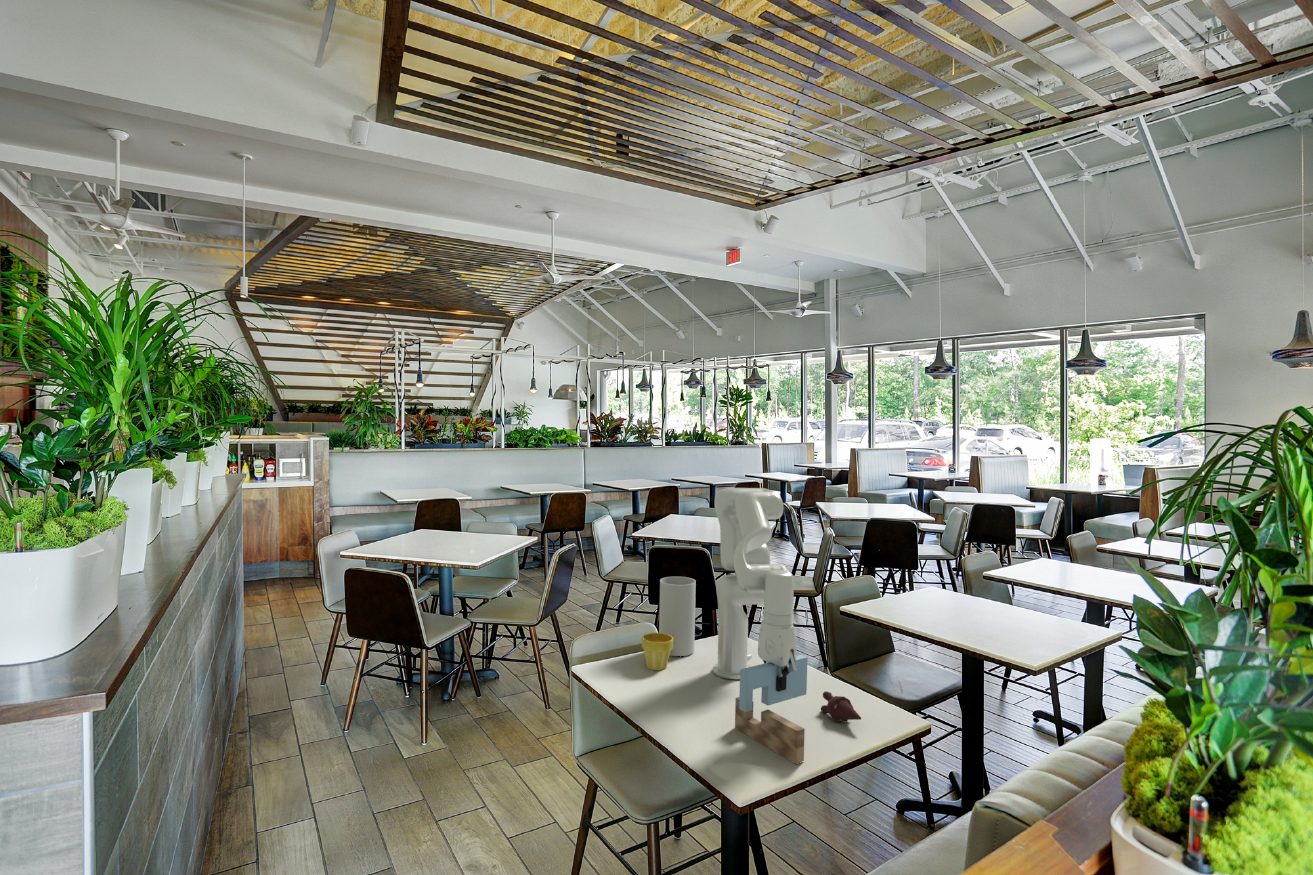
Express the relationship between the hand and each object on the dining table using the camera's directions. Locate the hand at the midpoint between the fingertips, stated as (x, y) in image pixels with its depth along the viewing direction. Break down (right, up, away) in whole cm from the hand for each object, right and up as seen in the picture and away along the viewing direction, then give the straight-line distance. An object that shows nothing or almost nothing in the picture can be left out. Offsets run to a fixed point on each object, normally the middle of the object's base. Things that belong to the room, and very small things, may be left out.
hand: (776, 687), depth 170 cm
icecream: (+19, -12, +7) cm, 23 cm away
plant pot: (-31, -10, +44) cm, 55 cm away
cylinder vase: (-25, -10, +59) cm, 64 cm away
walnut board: (-4, -12, -7) cm, 14 cm away
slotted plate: (-1, -3, -1) cm, 4 cm away
